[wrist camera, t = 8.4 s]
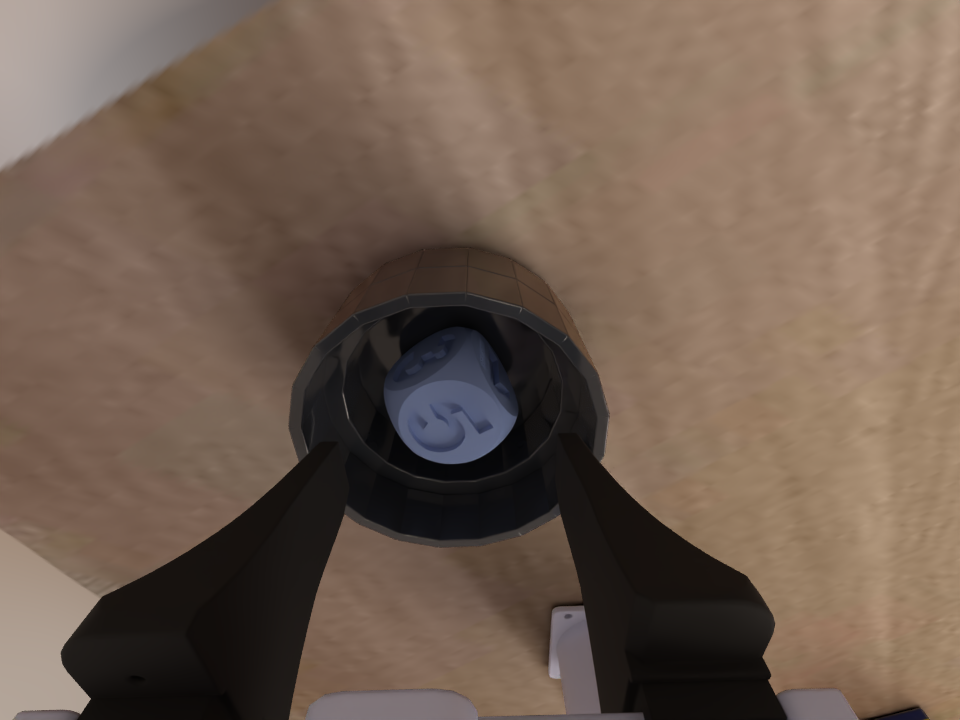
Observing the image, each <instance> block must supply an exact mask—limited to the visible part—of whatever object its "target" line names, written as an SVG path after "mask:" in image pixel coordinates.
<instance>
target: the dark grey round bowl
mask: <svg viewBox="0 0 960 720" xmlns="http://www.w3.org/2000/svg"><path fill="white" fill-rule="evenodd" d="M450 327H464V328H469V329H473V330H476V331H478V332H479V333H480V334H481V335H482V336H483V337H484V338H485V339H486V340H487V341H488V343H489V344H490V345H491V347H492V348H493V350H494V351H495V353H496V355H497V356H498V358H499V360H500V362H501V363H502V365H503V367H504V369H505V371H506V373H507V375H508V378H509V380H510V382H511V385H512V387H513V390H514V393H515V396H516V399H517V403H518V416H517V418H516V421H515V424H514V426H513V428H512V429H511V431H510V432H509V434H508V435H507V436H506V438H505V439H504V440H503V441H502V442H501V443H500V444H499V445H498V446H497V447H495V448H494V449H493V450H491V451H490V452H489V453H487V454H485V455H484V456H482V457H480V458H478V459H475V460H473V461H470V462H466V463H459V464H444V463H438V462H433V461H430V460H427V459H425V458H423V457H421V456H419V455H417V454H415V453H414V452H413V451H412V450H411V449H410V448H409V447H408V446H407V445H406V444H405V443H404V442H403V440H402V439H401V438H400V436H399V435H398V433H397V431H396V430H395V428H394V426H393V424H392V422H391V419H390V417H389V414H388V412H387V408H386V404H385V400H384V383H385V378H386V376H387V374H388V372H389V371H390V369H391V368H392V366H393V365H394V364H395V363H396V362H397V361H398V359H399V358H400V357H401V356H403V355H404V354H405V353H406V352H407V351H408V350H409V349H411V348H412V347H413V346H415V345H416V344H417V343H419V342H420V341H422V340H423V339H425V338H427V337H428V336H430V335H432V334H434V333H436V332H438V331H441V330H443V329H446V328H450ZM608 425H609V410H608V407H607V403H606V400H605V396H604V392H603V389H602V385H601V382H600V378H599V375H598V373H597V370H596V368H595V366H594V364H593V362H592V360H591V358H590V356H589V354H588V351H587V349H586V347H585V345H584V343H583V341H582V339H581V337H580V335H579V333H578V330H577V328H576V326H575V324H574V322H573V320H572V318H571V316H570V314H569V312H568V311H567V309H566V308H565V307H564V305H563V304H562V303H561V301H560V300H559V299H558V297H557V296H556V295H555V293H554V292H553V291H552V289H551V288H550V287H549V285H548V284H546V283H545V281H543V280H542V279H540V278H539V277H537V276H536V275H534V274H533V273H531V272H530V271H528V270H527V269H525V268H524V267H523V266H521V265H520V264H518V263H517V262H515V261H514V260H511V259H510V258H506V257H502V256H499V255H495V254H492V253H488V252H484V251H481V250H477V249H474V248H469V249H468V248H467V247H463V248H440V249H425V250H420V251H417V252H415V253H412V254H409V255H407V256H404V257H401V258H399V259H396V260H393V261H391V262H388V263H386V264H384V265H383V266H381V267H380V268H379V269H377V270H376V271H375V272H374V273H373V274H371V275H370V276H369V277H368V278H367V279H366V280H364V281H363V282H362V283H361V284H360V285H358V286H357V287H356V288H355V289H354V290H353V291H352V292H351V293H350V295H349V296H348V298H347V299H346V301H345V302H344V303H343V305H342V306H341V308H340V309H339V311H338V312H337V313H336V315H335V316H334V318H333V319H332V321H331V322H330V324H329V325H328V326H327V328H326V329H325V331H324V332H323V334H322V335H321V336H320V338H319V339H318V341H317V342H316V344H315V345H314V346H313V348H312V350H311V352H310V354H309V356H308V357H307V359H306V361H305V363H304V365H303V367H302V368H301V370H300V372H299V374H298V376H297V377H296V379H295V381H294V383H293V386H292V393H291V404H290V415H289V425H288V426H289V431H290V434H291V438H292V441H293V444H294V447H295V451H296V454H297V457H298V460H299V462H300V461H301V460H302V459H303V458H304V457H305V456H306V455H307V454H308V453H309V452H310V451H311V450H312V449H313V448H314V447H315V446H316V445H317V444H318V443H320V442H334V441H338V442H339V446H340V450H341V454H342V458H343V462H344V467H345V471H346V475H347V479H348V483H349V487H350V488H349V493H348V498H347V503H346V507H345V512H344V514H345V515H347V516H348V517H349V518H351V519H352V520H353V521H355V522H356V523H358V524H359V525H362V526H364V527H367V528H369V529H371V530H374V531H376V532H378V533H381V534H383V535H386V536H388V537H390V538H393V539H395V540H398V541H404V542H409V543H415V544H421V545H426V546H432V547H439V548H446V547H474V546H484V545H488V544H492V543H496V542H500V541H503V540H507V539H511V538H515V537H519V536H521V535H524V534H526V533H528V532H530V531H532V530H533V529H535V528H537V527H539V526H541V525H543V524H545V523H547V522H548V521H550V520H552V519H554V518H556V517H557V516H559V515H560V514H561V513H560V509H559V503H558V497H557V491H556V484H555V470H556V452H557V433H577V434H578V435H579V436H580V437H581V439H582V440H583V441H584V443H585V444H586V446H587V447H588V448H589V449H590V451H591V452H592V453H593V455H594V456H595V457H596V458H597V460H598V461H599V462H600V463H601V461H602V459H603V457H604V454H605V449H606V441H607V433H608Z"/></svg>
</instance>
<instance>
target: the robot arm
mask: <svg viewBox="0 0 960 720" xmlns="http://www.w3.org/2000/svg"><path fill="white" fill-rule="evenodd" d="M555 484H556V491H557V497H558V503H559V509H560V513H561V517H562V520H563V524H564V528H565V531H566V535H567V538H568V542H569V545H570V549H571V553H572V556H573V560H574V563H575V567H576V570H577V574H578V579H579V583H580V587H581V593H582V599H583V604H584V606H559V607H555V608H554V609H553V610H552V617H551V633H550V649H549V665H548V672H549V676H550V677H551V678H561V682H562V689H563V695H564V702H565V708H566V715H530V716H494V717H478V713H477V710H476V708H475V707H474V705H473V704H472V702H471V701H470V700H469V699H468V698H467V697H465V696H463V695H461V694H459V693H457V692H455V691H451V690H442V689H404V690H369V691H341V692H336V693H330V694H325V695H324V696H322V697H321V698H319V699H318V700H316V701H315V702H314V703H312V704H311V705H309V708H308V712H307V715H306V719H305V720H859V719H858V717H857V716H856V714H855V713H854V711H853V709H852V708H851V706H850V705H849V703H848V702H847V700H846V698H845V697H844V695H843V694H842V692H841V691H840V690H838V689H836V688H816V689H791V690H785V691H783V692H780V693H778V694H777V695H775V693H774V691H773V689H772V687H771V685H770V683H769V681H768V679H770V677H771V674H770V671H769V669H768V667H767V665H766V663H765V661H764V659H763V657H762V656H763V654H764V652H765V650H766V648H767V646H768V643H769V641H770V639H771V637H772V635H773V632H774V627H775V621H774V617H773V615H772V613H771V612H770V610H769V608H768V606H767V605H766V603H765V601H764V600H763V598H762V597H761V595H760V594H759V592H758V591H757V589H756V588H755V587H754V585H753V584H752V583H751V582H750V580H749V578H748V577H747V576H746V575H744V574H742V573H740V572H739V571H737V570H735V569H733V568H731V567H729V566H728V565H726V564H724V563H722V562H720V561H718V560H717V559H715V558H713V557H711V556H710V555H708V554H706V553H705V552H703V551H702V550H700V549H698V548H697V547H695V546H694V545H692V544H690V543H689V542H687V541H686V540H685V539H683V538H682V537H680V536H679V535H677V534H676V533H675V532H673V531H672V530H671V529H669V528H668V527H666V526H665V525H664V524H662V523H661V522H660V521H658V520H657V519H656V518H655V517H654V516H652V515H651V514H650V513H649V512H648V511H647V510H645V509H644V508H643V507H642V506H641V505H640V504H639V503H638V502H636V501H635V500H634V499H633V498H632V497H631V496H630V495H629V494H628V493H627V492H626V491H625V490H624V489H623V488H622V487H621V486H620V485H619V484H618V482H617V481H616V480H615V479H614V478H613V477H612V476H611V475H610V474H609V472H608V471H607V470H606V469H605V468H604V467H603V466H602V464H601V463H600V462H599V461H598V460H597V458H596V457H595V456H594V455H593V453H592V452H591V451H590V449H589V448H588V447H587V446H586V444H585V443H584V441H583V440H582V439H581V437H580V436H579V435H578V434H577V433H557V452H556V470H555ZM349 488H350V487H349V483H348V479H347V475H346V471H345V467H344V462H343V458H342V454H341V450H340V446H339V442H338V441H334V442H320V443H318V444H317V445H316V446H315V447H314V448H313V449H312V450H311V451H310V452H309V453H308V454H307V455H306V456H305V457H304V458H303V459H302V460H301V461H300V462H299V463H298V464H297V465H296V466H295V467H294V468H293V469H292V470H291V471H290V472H289V473H288V474H287V475H286V476H285V477H284V478H283V479H282V480H281V481H279V482H278V483H277V484H276V485H275V486H274V487H273V488H272V489H271V490H269V491H268V492H267V493H266V494H265V495H264V496H263V497H261V498H260V499H259V500H258V501H257V502H256V503H255V504H254V505H252V506H251V507H250V508H249V509H247V510H246V511H245V512H244V513H242V514H241V515H240V516H239V517H237V518H236V519H235V520H233V521H232V522H231V523H229V524H228V525H227V526H225V527H224V528H222V529H221V530H220V531H218V532H217V533H215V534H214V535H212V536H211V537H209V538H208V539H206V540H205V541H203V542H202V543H200V544H198V545H197V546H195V547H194V548H192V549H191V550H189V551H188V552H186V553H184V554H183V555H181V556H179V557H178V558H176V559H174V560H173V561H171V562H169V563H167V564H166V565H164V566H162V567H160V568H158V569H157V570H155V571H153V572H151V573H149V574H147V575H145V576H144V577H141V578H139V579H137V580H135V581H133V582H131V583H129V584H127V585H125V586H123V587H121V588H119V589H117V590H115V591H113V592H111V593H109V594H107V595H105V596H103V597H102V598H101V599H100V600H99V601H98V603H97V604H96V605H95V606H94V608H93V609H92V610H91V612H90V613H89V614H88V615H87V617H86V618H85V619H84V620H83V622H82V623H81V624H80V626H79V627H78V628H77V629H76V631H75V632H74V633H73V634H72V636H71V637H70V638H69V640H68V641H67V642H66V643H65V645H64V647H63V649H62V651H61V658H62V664H63V666H64V667H65V669H66V670H67V672H68V673H69V674H70V675H71V676H72V677H73V679H74V680H75V681H76V682H77V683H78V684H79V686H80V687H81V688H82V689H83V690H84V691H85V692H86V694H87V695H88V696H89V697H90V698H91V700H90V701H89V703H88V704H87V706H86V707H85V709H84V711H83V712H82V713H81V714H79V713H77V712H74V711H70V710H41V711H40V710H39V711H38V710H37V711H22V712H20V713H18V714H17V715H16V716H15V718H14V719H13V720H289V715H290V709H291V704H292V698H293V693H294V688H295V683H296V679H297V674H298V669H299V664H300V659H301V655H302V650H303V646H304V641H305V637H306V633H307V628H308V624H309V620H310V616H311V612H312V608H313V604H314V600H315V596H316V593H317V590H318V586H319V583H320V580H321V577H322V575H323V572H324V569H325V566H326V564H327V561H328V558H329V555H330V553H331V550H332V547H333V544H334V542H335V539H336V536H337V533H338V530H339V528H340V525H341V522H342V519H343V516H344V512H345V507H346V503H347V498H348V493H349Z"/></svg>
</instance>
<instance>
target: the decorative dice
mask: <svg viewBox="0 0 960 720" xmlns="http://www.w3.org/2000/svg"><path fill="white" fill-rule="evenodd" d="M384 400H385V404H386V408H387V412H388V414H389V417H390V419H391V422H392V424H393V426H394V428H395V430H396V431H397V433H398V435H399V436H400V438H401V439H402V440H403V442H404V443H405V444H406V445H407V446H408V447H409V448H410V449H411V450H412V451H413V452H414V453H415V454H417V455H419V456H421V457H423V458H425V459H427V460H430V461H433V462H438V463H444V464H459V463H466V462H470V461H473V460H475V459H478V458H480V457H482V456H484V455H485V454H487V453H489V452H490V451H491V450H493V449H494V448H495V447H497V446H498V445H499V444H500V443H501V442H502V441H503V440H504V439H505V438H506V436H507V435H508V434H509V432H510V431H511V429H512V428H513V426H514V424H515V421H516V418H517V416H518V403H517V399H516V396H515V393H514V390H513V387H512V385H511V382H510V380H509V378H508V375H507V373H506V371H505V369H504V367H503V365H502V363H501V362H500V360H499V358H498V356H497V355H496V353H495V351H494V350H493V348H492V347H491V345H490V344H489V343H488V341H487V340H486V339H485V338H484V337H483V336H482V335H481V334H480V333H479V332H478V331H476V330H473V329H469V328H464V327H450V328H446V329H443V330H441V331H438V332H436V333H434V334H432V335H430V336H428V337H427V338H425V339H423V340H422V341H420V342H419V343H417V344H416V345H415V346H413V347H412V348H411V349H409V350H408V351H407V352H406V353H405V354H404V355H403V356H401V357H400V358H399V359H398V361H397V362H396V363H395V364H394V365H393V366H392V368H391V369H390V371H389V372H388V374H387V376H386V378H385V383H384Z"/></svg>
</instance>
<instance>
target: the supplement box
mask: <svg viewBox="0 0 960 720" xmlns="http://www.w3.org/2000/svg"><path fill="white" fill-rule="evenodd" d="M873 720H930V719H929V718H928V717H927V715H926V714H925V712H924V711H923V710H922V709H921V708H917V709H913V710H909V711H905V712H901V713H897V714H893V715H889V716H885V717H882V718H877V719H873Z"/></svg>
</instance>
